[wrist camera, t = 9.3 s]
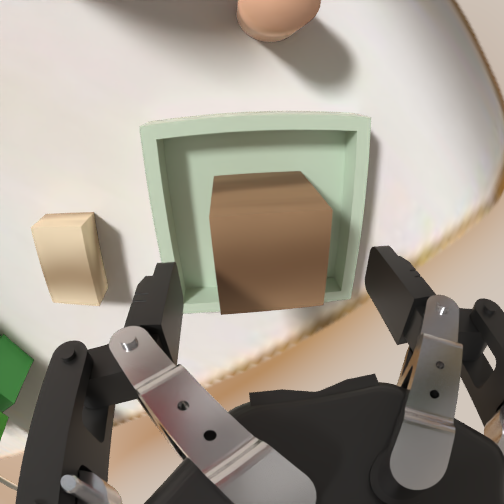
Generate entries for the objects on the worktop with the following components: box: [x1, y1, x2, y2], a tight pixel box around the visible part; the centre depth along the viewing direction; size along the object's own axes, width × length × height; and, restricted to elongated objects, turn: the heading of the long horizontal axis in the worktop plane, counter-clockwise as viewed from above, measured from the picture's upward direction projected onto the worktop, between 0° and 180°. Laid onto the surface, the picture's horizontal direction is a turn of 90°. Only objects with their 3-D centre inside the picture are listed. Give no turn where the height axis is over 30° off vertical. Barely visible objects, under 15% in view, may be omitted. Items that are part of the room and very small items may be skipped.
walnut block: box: [209, 171, 333, 315], centre depth 16 cm, size 5×5×6 cm
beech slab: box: [31, 212, 108, 306], centre depth 19 cm, size 6×4×2 cm, turn 177°
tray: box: [140, 111, 371, 314], centre depth 18 cm, size 12×12×2 cm
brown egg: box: [236, 0, 321, 42], centre depth 12 cm, size 4×4×4 cm
